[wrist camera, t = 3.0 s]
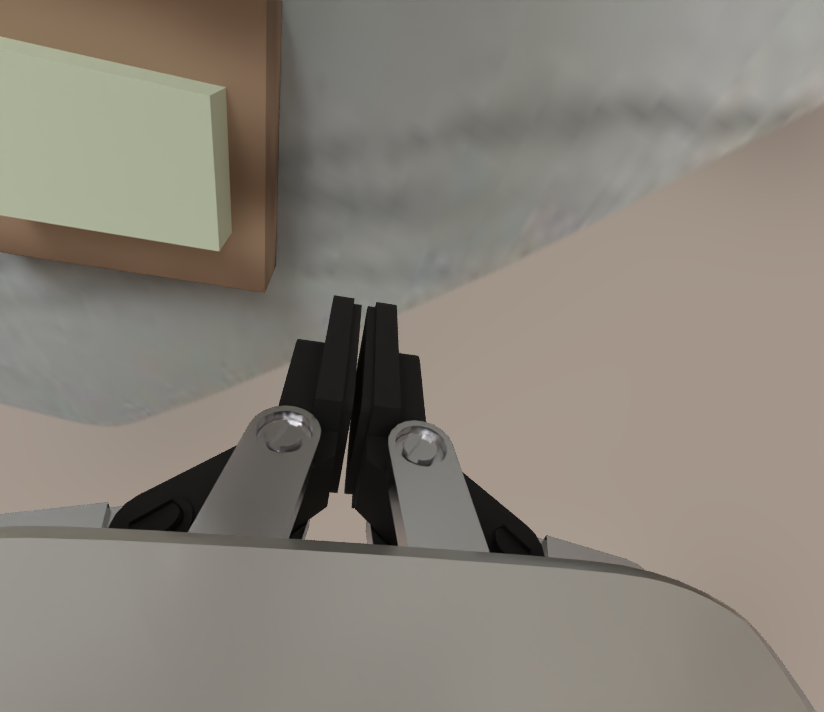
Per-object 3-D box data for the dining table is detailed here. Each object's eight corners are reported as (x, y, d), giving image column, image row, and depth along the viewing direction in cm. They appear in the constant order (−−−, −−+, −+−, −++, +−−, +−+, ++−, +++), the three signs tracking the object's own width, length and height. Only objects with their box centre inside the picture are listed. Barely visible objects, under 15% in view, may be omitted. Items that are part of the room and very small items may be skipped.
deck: (-127, -107, 15) (-218, -127, 13) (282, 0, 18) (266, 0, 15) (-3, 220, 23) (-48, 245, 20) (275, 265, 25) (264, 292, 23)
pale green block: (15, 195, 19) (-17, 212, 18) (-42, 27, 15) (-89, 29, 14) (231, 232, 21) (219, 251, 19) (225, 87, 17) (209, 95, 15)
